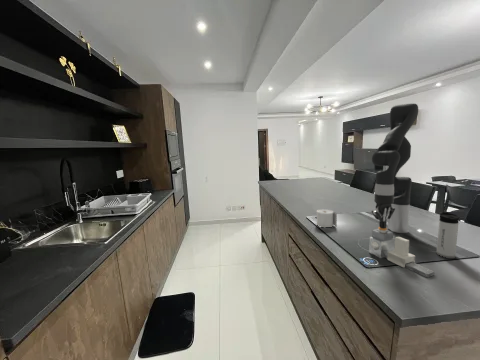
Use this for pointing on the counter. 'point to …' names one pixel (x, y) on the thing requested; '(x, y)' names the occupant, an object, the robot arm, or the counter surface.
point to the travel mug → (447, 235)
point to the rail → (417, 268)
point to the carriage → (401, 252)
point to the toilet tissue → (326, 218)
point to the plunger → (382, 230)
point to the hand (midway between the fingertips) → (382, 227)
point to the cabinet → (381, 243)
